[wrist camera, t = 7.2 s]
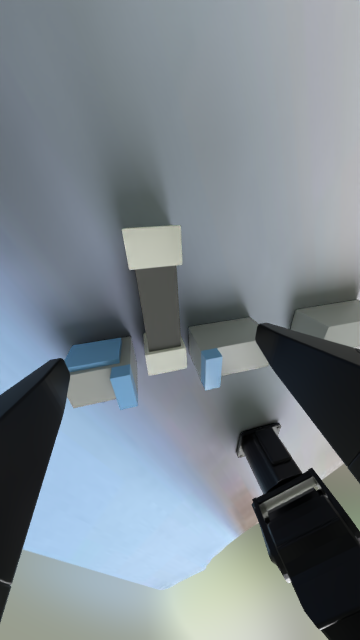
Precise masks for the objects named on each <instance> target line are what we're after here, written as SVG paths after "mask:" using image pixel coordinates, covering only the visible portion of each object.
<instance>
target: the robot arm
mask: <svg viewBox="0 0 360 640" xmlns="http://www.w3.org/2000/svg"><path fill="white" fill-rule="evenodd" d="M255 341H256V343H257V345H258V347H259V348H260V350H261V351H262V353H263V355H264V356H265V358H266V360H267V361H268V363H269V364H270V366H271V367H272V369H273V370H274V372H275V373H276V374H277V375H278V377H279V378H280V379H281V381H282V382H283V383H284V385H285V386H286V387H287V389H288V390H289V391H290V393H291V394H292V395H293V396H294V398H295V399H296V400H297V402H298V403H299V404H300V406H301V407H302V408H303V410H304V411H305V412H306V414H307V415H308V416H309V417H310V419H311V420H312V421H313V423H314V424H315V425H316V427H317V428H318V429H319V431H320V432H321V433H322V435H323V436H324V437H325V438H326V440H327V441H328V442H329V444H330V445H331V446H332V448H333V449H334V450H335V452H336V453H337V454H338V456H339V457H340V458H341V459H342V461H343V462H344V463H345V465H346V466H348V469H349V470H350V471H351V473H352V474H353V475H354V477H355V478H356V479H357V481H358V482H359V483H360V349H357V348H353V347H350V346H346V345H343V344H339V343H336V342H332V341H329V340H325V339H322V338H318V337H315V336H311V335H308V334H304V333H301V332H297V331H294V330H290V329H287V328H283V327H280V326H276V325H273V324H269V323H262V324H259V325H258V326H257V330H256V335H255ZM69 382H70V372H69V370H68V368H67V366H66V363H65V361H64V360H63V359H62V358H58V359H52V360H50V361H48V362H47V363H45V364H44V365H42V366H41V367H40V368H38V369H37V370H35V371H34V372H32V373H31V374H30V375H28V376H27V377H25V378H24V379H22V380H21V381H20V382H18V383H17V384H15V385H14V386H13V387H11V388H10V389H8V390H7V391H5V392H4V393H3V394H1V395H0V622H1V618H2V615H3V612H4V609H5V605H6V602H7V598H8V595H9V592H10V589H11V586H10V585H11V584H12V581H13V578H14V575H15V572H16V568H17V565H18V562H19V558H20V555H21V552H22V549H23V545H24V542H25V539H26V535H27V532H28V529H29V526H30V522H31V519H32V516H33V512H34V509H35V506H36V503H37V499H38V496H39V493H40V489H41V486H42V483H43V480H44V476H45V473H46V470H47V466H48V463H49V460H50V457H51V453H52V450H53V447H54V443H55V440H56V437H57V434H58V430H59V427H60V424H61V420H62V417H63V413H64V409H65V404H66V398H67V393H68V388H69ZM280 428H281V425H280V424H279V423H275V424H271V425H267V426H264V427H260V428H257V429H253V430H249V431H246V432H243V433H241V435H240V439H239V445H238V450H237V456H238V458H241V457H244V456H246V459H247V461H248V463H249V465H250V467H251V469H252V471H253V473H254V475H255V477H256V479H257V482H258V484H259V486H260V488H261V490H262V492H263V495H262V496H260V497H258V498H254V499H252V500H253V504H252V507H253V509H254V511H255V514H256V516H257V519H258V521H259V524H260V527H261V530H262V534H263V537H264V540H265V544H266V547H267V551H268V554H269V557H270V559H271V561H272V562H273V563H274V564H276V565H277V566H278V568H279V570H280V571H281V573H282V575H283V576H284V578H285V580H286V581H287V582H288V583H290V582H291V583H292V585H293V587H294V590H295V592H296V594H297V596H298V598H299V601H300V603H301V605H302V607H303V609H304V611H305V612H306V614H307V615H308V616H309V618H310V619H311V620H312V622H313V623H314V624H315V625H316V627H317V628H318V629H319V630H321V631H322V632H323V633H324V635H325V636H326V637H327V638H328V639H329V640H360V531H359V530H358V528H357V527H356V525H355V524H354V523H353V521H352V520H351V518H350V517H349V516H348V514H347V513H346V512H345V510H344V509H343V508H342V506H341V505H340V504H339V502H338V501H337V500H336V499H335V497H334V496H333V495H332V493H331V492H330V491H329V489H328V488H327V487H326V485H325V484H324V483H323V482H322V480H321V479H320V478H319V476H318V475H317V474H316V472H315V471H314V470H313V468H310V469H308V471H307V472H305V473H303V474H302V472H301V470H300V469H299V467H298V466H297V464H296V463H295V461H294V460H293V459H292V457H291V455H290V454H289V452H288V451H287V449H286V448H285V446H284V445H283V443H282V442H281V440H280V439H279V437H278V434H279V431H280ZM315 486H317V487H318V488H319V490H317V491H316V490H315V489H314V487H315Z"/></svg>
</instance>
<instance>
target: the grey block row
mask: <svg viewBox="0 0 360 640" xmlns="http://www.w3.org/2000/svg"><path fill="white" fill-rule="evenodd" d="M258 325H259V324H258V323H257V322H256V321H254V320H253V319H252V318H251V317H247V318H241V319H235V320H229V321H222V322H216V323H210V324H204V325H198V326H191V327H189V354H190V356H191V358H192V361H193V363H194V365H195V368H196V370H197V373H198V375H199V377H200V380H201V382H202V384H203V387H204V389H205V391H206V390H210V389H215V388H219V387H220V383H221V376H225V375H229V374H234V373H239V372H243V371H248V370H253V369H257V368H262V367H266V366H268V364H269V363H268V361H267V360H266V358H265V356H264V355H263V353H262V351H261V350H260V348H259V347H258V345H257V343H256V341H255V335H256V330H257V326H258ZM290 330H294V331H297V332H301V333H304V334H308V335H311V336H315V337H318V338H322V339H325V340H329V341H332V342H336V343H339V344H343V345H346V346H350V347H353V348H354V347H359V346H360V300H352V301H346V302H340V303H334V304H327V305H321V306H315V307H309V308H303V309H296V311H295V314H294V318H293V321H292V325H291V328H290ZM65 363H66V366H67V368H68V370H69V372H70V382H69V388H68V393H67V397H68V399H69V401H70V403H71V405H72V406H73V408H77V407H81V406H86V405H91V404H95V403H100V402H105V401H109V400H114V399H117V402H118V405H119V408H120V410H122V409H126V408H131V407H135V406H138V390H137V361H136V357H135V352H134V347H133V343H132V338H131V336H130V337H123V338H115V339H109V340H103V341H97V342H91V343H84V344H78V345H72V347H71V349H70V351H69V353H68V355H67V357H66V359H65Z"/></svg>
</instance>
